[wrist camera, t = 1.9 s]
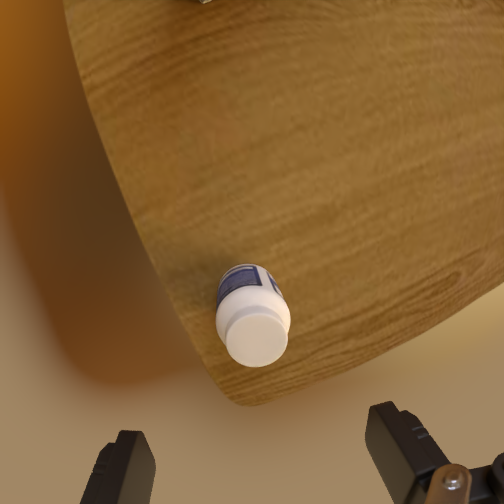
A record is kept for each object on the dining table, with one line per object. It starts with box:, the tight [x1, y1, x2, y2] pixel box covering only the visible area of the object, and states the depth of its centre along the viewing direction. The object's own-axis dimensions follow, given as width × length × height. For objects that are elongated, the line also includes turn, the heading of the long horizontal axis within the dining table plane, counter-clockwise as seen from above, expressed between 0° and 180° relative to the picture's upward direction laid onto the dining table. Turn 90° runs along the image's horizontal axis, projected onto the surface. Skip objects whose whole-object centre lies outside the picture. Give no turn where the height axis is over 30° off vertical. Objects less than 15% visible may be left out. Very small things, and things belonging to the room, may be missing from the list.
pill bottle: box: [216, 264, 290, 367], centre depth 24 cm, size 5×5×10 cm
